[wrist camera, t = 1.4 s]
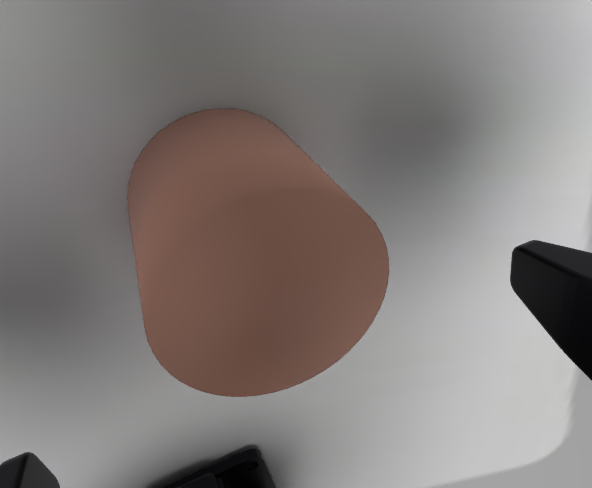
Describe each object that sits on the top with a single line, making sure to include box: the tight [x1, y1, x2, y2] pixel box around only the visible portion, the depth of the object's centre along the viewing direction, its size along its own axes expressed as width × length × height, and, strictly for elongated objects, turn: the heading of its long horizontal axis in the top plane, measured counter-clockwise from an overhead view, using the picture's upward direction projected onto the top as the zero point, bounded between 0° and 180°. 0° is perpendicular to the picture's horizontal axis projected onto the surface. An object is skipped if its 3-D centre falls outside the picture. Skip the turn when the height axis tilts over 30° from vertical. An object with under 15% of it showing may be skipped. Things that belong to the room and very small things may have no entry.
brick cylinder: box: [127, 108, 389, 397], centre depth 12 cm, size 5×5×5 cm
